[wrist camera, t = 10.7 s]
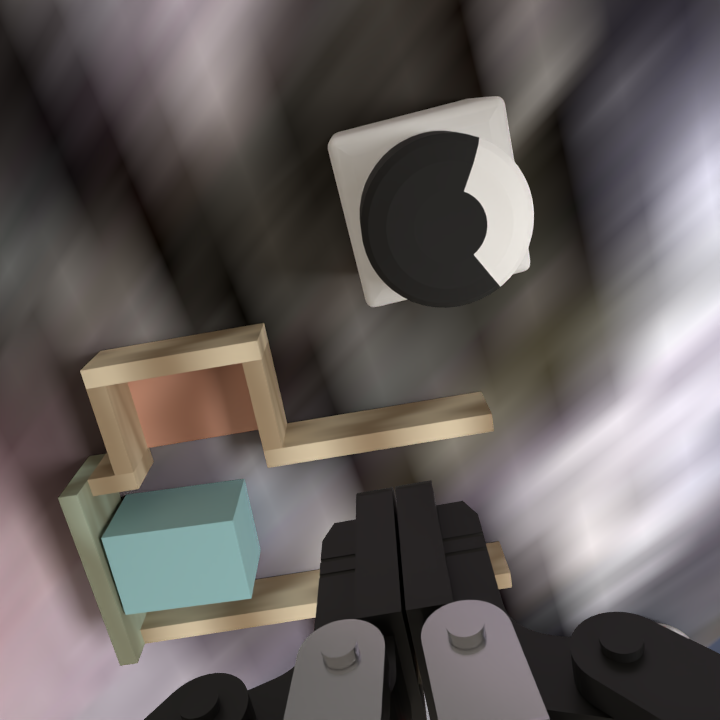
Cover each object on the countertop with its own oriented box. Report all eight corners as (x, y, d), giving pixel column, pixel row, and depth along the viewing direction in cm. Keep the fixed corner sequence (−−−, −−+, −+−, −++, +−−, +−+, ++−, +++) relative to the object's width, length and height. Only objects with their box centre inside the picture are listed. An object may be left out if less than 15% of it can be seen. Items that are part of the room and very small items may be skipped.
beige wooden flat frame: (468, 287, 36) (484, 311, 32) (510, 632, 44) (527, 688, 40) (55, 358, 37) (18, 390, 33) (167, 684, 45) (149, 744, 41)
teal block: (244, 477, 40) (232, 520, 36) (260, 549, 42) (251, 598, 38) (126, 493, 40) (101, 538, 36) (147, 564, 42) (125, 615, 38)
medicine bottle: (363, 273, 36) (372, 348, 25) (329, 134, 34) (321, 146, 22) (498, 240, 35) (569, 301, 24) (473, 97, 33) (539, 90, 22)
